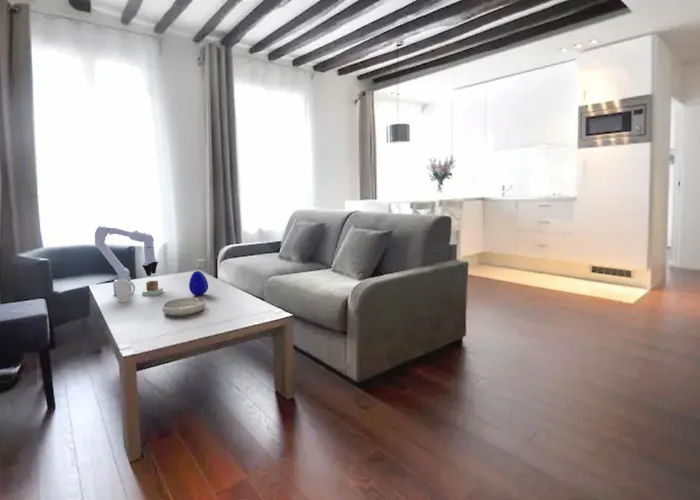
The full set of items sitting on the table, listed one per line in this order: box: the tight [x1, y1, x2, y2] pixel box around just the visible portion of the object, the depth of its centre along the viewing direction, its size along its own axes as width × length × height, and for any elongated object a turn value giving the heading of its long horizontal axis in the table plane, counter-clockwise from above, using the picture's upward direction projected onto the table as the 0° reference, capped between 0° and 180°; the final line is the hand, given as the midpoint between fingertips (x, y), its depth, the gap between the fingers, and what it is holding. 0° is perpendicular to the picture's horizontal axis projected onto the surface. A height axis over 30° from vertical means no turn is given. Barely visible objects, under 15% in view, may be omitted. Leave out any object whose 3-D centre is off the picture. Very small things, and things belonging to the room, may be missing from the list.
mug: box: [114, 279, 136, 303], centre depth 248 cm, size 10×7×12 cm, turn 119°
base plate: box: [141, 287, 164, 297], centre depth 263 cm, size 9×9×3 cm
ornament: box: [188, 270, 209, 296], centre depth 258 cm, size 11×9×15 cm
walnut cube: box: [145, 280, 159, 291], centre depth 263 cm, size 5×5×5 cm
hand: (151, 274), depth 270 cm, fingers open, 7 cm apart
